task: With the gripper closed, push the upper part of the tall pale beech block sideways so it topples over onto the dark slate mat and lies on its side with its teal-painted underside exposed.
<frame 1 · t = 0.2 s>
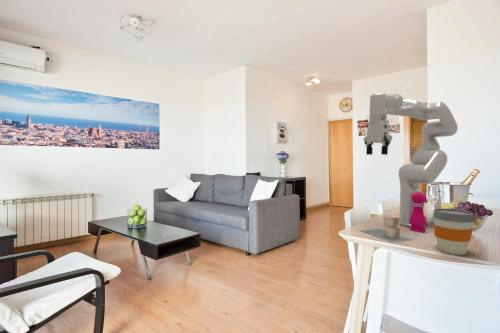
hand: (376, 154, 139), 36 cm above the table, tool pointing down, fingers open, 9 cm apart
pepper mill: (417, 231, 136), on the table
beech block: (391, 237, 124), resting on slate mat
reusable coffee cup: (451, 251, 108), on the table
slate mat: (384, 235, 127), on the table
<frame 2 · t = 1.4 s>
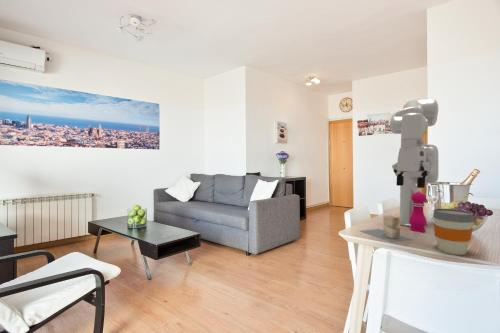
hand: (410, 186, 115), 23 cm above the table, tool pointing down, fingers open, 9 cm apart
nothing on the table moved.
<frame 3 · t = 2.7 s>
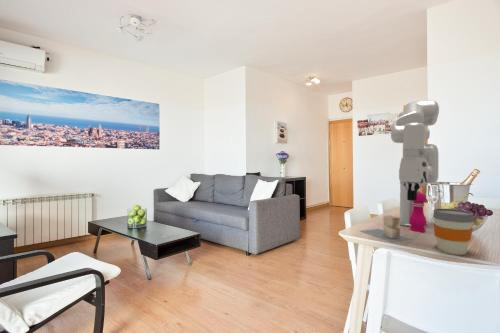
hand: (411, 200, 114), 18 cm above the table, tool pointing down, fingers closed
nothing on the table moved.
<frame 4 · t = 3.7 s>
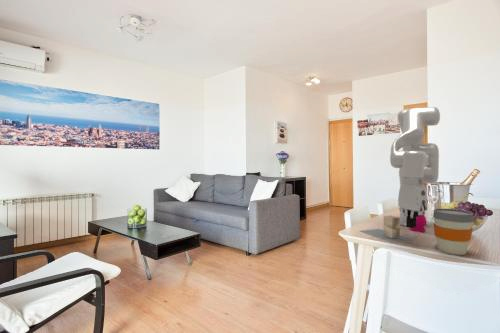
hand: (411, 227, 115), 7 cm above the table, tool pointing down, fingers closed
nothing on the table moved.
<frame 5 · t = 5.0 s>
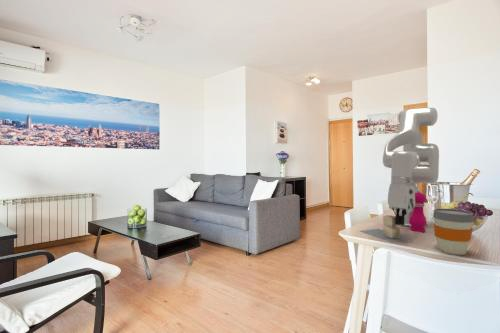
hand: (399, 224, 120), 7 cm above the table, tool pointing down, fingers closed
beech block: (391, 237, 124), resting on slate mat, touching gripper
everything else where it was.
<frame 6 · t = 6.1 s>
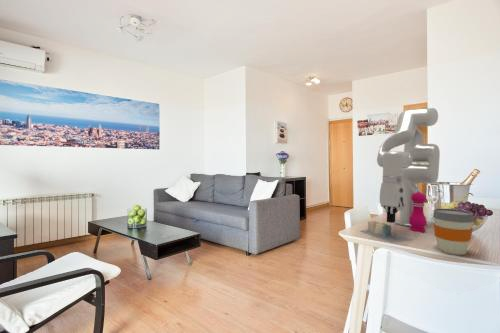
hand: (390, 222, 124), 7 cm above the table, tool pointing down, fingers closed
beech block: (387, 230, 126), point 3 cm above the table, tilted 90°, touching slate mat
everything else where it was.
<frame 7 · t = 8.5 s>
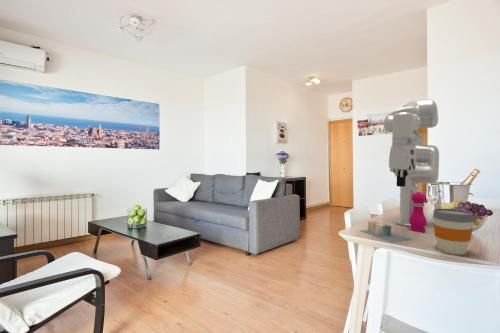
hand: (400, 186, 120), 23 cm above the table, tool pointing down, fingers closed
nothing on the table moved.
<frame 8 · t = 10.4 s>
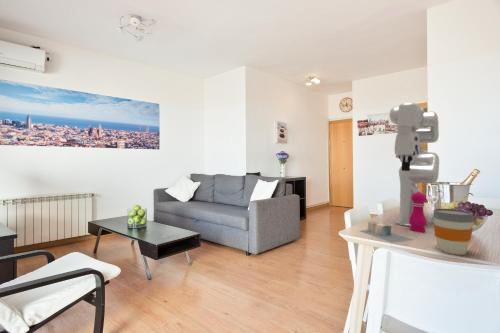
hand: (405, 170, 131), 29 cm above the table, tool pointing down, fingers closed
nothing on the table moved.
at the end: beech block tilted 90°; beech block inside the target area (1.7 cm from its centre), point 2.6 cm above the table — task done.
